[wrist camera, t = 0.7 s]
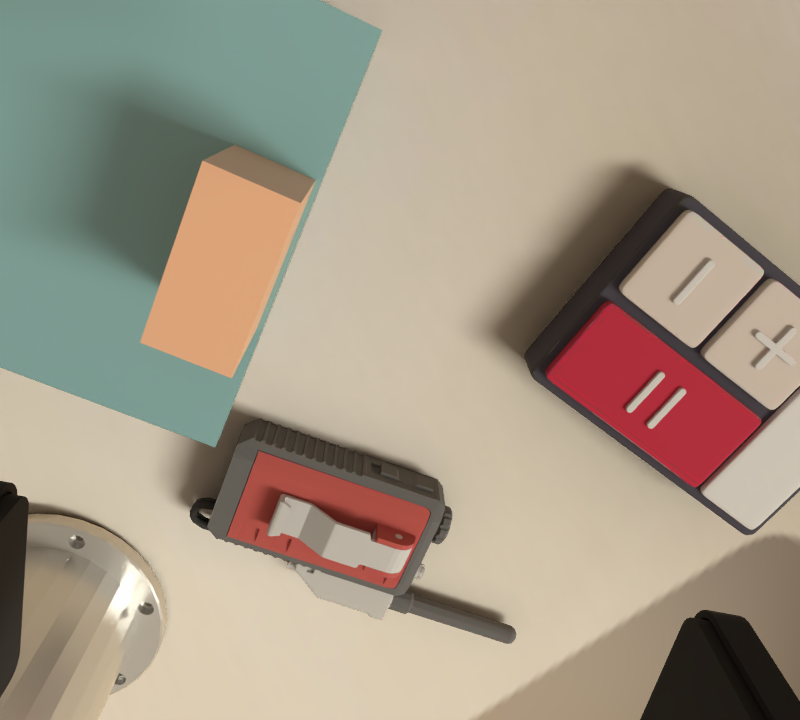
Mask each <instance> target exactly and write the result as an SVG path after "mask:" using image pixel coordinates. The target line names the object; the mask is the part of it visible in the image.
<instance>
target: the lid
mask: <svg viewBox="0 0 800 720" xmlns="http://www.w3.org/2000/svg"><path fill="white" fill-rule="evenodd" d="M381 33H382V30H380V29H378V28H376V27H374V26H372V25H370V24H368V23H366V22H364V21H362V20H360V19H358V18H356V17H353V16H351V15H349V14H347V13H345V12H343V11H341V10H339V9H337V8H335V7H333V6H331V5H328V4H326V3H324V2H322V1H320V0H0V367H1V368H3V369H6V370H9V371H11V372H14V373H17V374H19V375H22V376H25V377H27V378H30V379H33V380H35V381H38V382H41V383H44V384H46V385H49V386H52V387H54V388H57V389H60V390H62V391H65V392H68V393H70V394H73V395H76V396H78V397H81V398H84V399H86V400H89V401H92V402H94V403H97V404H100V405H102V406H105V407H108V408H110V409H113V410H116V411H118V412H121V413H124V414H127V415H129V416H132V417H135V418H137V419H140V420H143V421H145V422H148V423H151V424H153V425H156V426H159V427H161V428H164V429H167V430H169V431H172V432H175V433H177V434H180V435H183V436H185V437H188V438H191V439H193V440H196V441H199V442H201V443H204V444H207V445H210V446H212V447H216V445H217V442H218V440H219V438H220V436H221V433H222V431H223V428H224V426H225V423H226V421H227V418H228V416H229V413H230V411H231V408H232V406H233V403H234V401H235V398H236V396H237V393H238V391H239V388H240V386H241V383H242V381H243V378H244V376H245V373H246V371H247V368H248V366H249V363H250V361H251V358H252V356H253V353H254V351H255V348H256V346H257V343H258V341H259V338H260V336H261V333H262V331H263V328H264V326H265V323H266V321H267V318H268V316H269V313H270V311H271V308H272V306H273V303H274V301H275V298H276V296H277V293H278V291H279V288H280V286H281V283H282V281H283V278H284V276H285V273H286V271H287V268H288V266H289V263H290V261H291V258H292V256H293V253H294V251H295V248H296V246H297V243H298V241H299V238H300V236H301V233H302V231H303V228H304V226H305V223H306V221H307V218H308V216H309V213H310V211H311V208H312V206H313V203H314V201H315V198H316V196H317V193H318V191H319V188H320V186H321V183H322V181H323V178H324V176H325V173H326V171H327V168H328V166H329V163H330V161H331V158H332V156H333V153H334V151H335V148H336V146H337V143H338V141H339V138H340V136H341V133H342V131H343V128H344V126H345V123H346V121H347V118H348V116H349V113H350V111H351V108H352V106H353V103H354V101H355V98H356V96H357V93H358V91H359V88H360V86H361V83H362V81H363V78H364V76H365V73H366V71H367V68H368V66H369V63H370V61H371V58H372V56H373V53H374V51H375V48H376V46H377V43H378V41H379V38H380V36H381Z"/></svg>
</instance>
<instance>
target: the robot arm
mask: <svg viewBox="0 0 800 720" xmlns="http://www.w3.org/2000/svg"><path fill="white" fill-rule="evenodd" d="M28 510H29V503H28V499H27V498H26V497H24V496H18V495H17V489H16V486H15V485H14V484H13V483H9V482H3V481H0V720H98V719H99V717H100V714H101V712H102V710H103V708H104V705H105V703H106V701H107V699H108V696H109V695H111V694H114V693H116V692H118V691H120V690H122V689H124V688H126V687H127V686H129V685H130V684H132V683H133V682H134V681H136V680H137V679H139V677H140V676H141V675H142V674H143V673H144V672H145V671H146V670H147V669H148V668H149V667H150V665H151V663H152V662H153V660H154V658H155V656H156V654H157V653H158V650H159V648H160V645H161V642H162V640H163V637H164V634H165V628H166V621H167V613H166V602H165V598H164V595H163V592H162V589H161V586H160V583H159V582H158V580H157V578H156V576H155V575H154V573H153V571H152V569H151V568H150V567H149V565H148V564H147V563H146V562H145V561H144V560H143V558H142V557H141V556H140V555H139V554H138V553H137V552H136V551H135V550H134V549H133V548H131V547H130V546H129V545H128V544H127V543H125V542H124V541H123V540H122V539H120V538H119V537H117V536H115V535H113V534H112V533H110V532H108V531H107V530H105V529H103V528H101V527H98V526H96V525H93V524H91V523H88V522H86V521H83V520H80V519H75V518H71V517H66V516H62V515H53V514H28ZM640 720H800V701H799V700H798V698H797V697H796V695H795V694H794V692H793V691H792V689H791V687H790V686H789V684H788V683H787V681H786V680H785V678H784V677H783V675H782V673H781V672H780V670H779V669H778V667H777V665H776V664H775V663H774V661H773V659H772V658H771V656H770V655H769V653H768V651H767V650H766V648H765V647H764V645H763V644H762V642H761V641H760V639H759V638H758V636H757V635H756V633H755V631H754V630H753V628H752V627H751V625H750V623H749V622H748V621H747V620H746V619H745V618H743V617H741V616H737V615H731V614H726V613H720V612H715V611H709V610H702V611H700V612H699V613H697V614H696V616H695V618H688V619H686V620H685V621H684V623H683V625H682V626H681V629H680V631H679V633H678V636H677V638H676V640H675V642H674V645H673V647H672V649H671V651H670V654H669V656H668V658H667V660H666V663H665V665H664V667H663V669H662V672H661V674H660V676H659V679H658V681H657V683H656V685H655V688H654V690H653V692H652V694H651V697H650V699H649V701H648V704H647V706H646V708H645V710H644V713H643V715H642V717H641V719H640Z"/></svg>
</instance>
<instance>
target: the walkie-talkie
mask: <svg viewBox="0 0 800 720" xmlns="http://www.w3.org/2000/svg"><path fill="white" fill-rule="evenodd" d="M201 508H204V509H210V510H213V511H212V515H211V517H210V519H209V518H206V517H204V516H203V515H202V514H201V513H199V509H201ZM190 518H191V520H192V521H193V523H195V524H196V525H198V526H199V527H201V528H203V529H206V530H209V531H210V532H211V533H212V534H213V535H214V536H215V538H216V539H218V538H219V539H222V540H224V541H225V542H231V543H234V545H241V546H244V548H250V549H253V550H254V551H256V552H257V551H259V552H263V554H266V555H267V554H269V555H272V556H273V557H275V558H276V557H278V558H281V559H283V560H284V561H287V562H288V566H287V568H290V569H293V570H296V572H297V573H298V574H299V575H300V577H301V578H302V579H303V580H304V582H305V583H306V584H307V585H308V587H309V588H310V589H311V590H312V592H313V593H314V594H315V596H316V597H318V598H320V599H323V600H326V601H329V602H332V603H336V604H339V605H342V606H345V607H348V608H351V609H354V610H358V611H361V612H364V613H367V614H368V615H369V616H370V617H372V618H375V619H379V620H382V619H383V617H384V615H385V613H386V611H387V609H391V610H394V611H397V612H400V613H404V614H406V613H408V612H409V613H412V614H415V615H418V616H421V617H425V618H428V619H431V620H434V621H437V622H440V623H443V624H447V625H450V626H453V627H456V628H459V629H462V630H466V631H469V632H472V633H475V634H478V635H481V636H484V637H488V638H491V639H494V640H497V641H500V642H503V643H506V644H509V643H512V642H513V641H514V640H515V638H516V632H515V629H514V628H513V627H512V626H510V625H507V624H504V623H501V622H497V621H494V620H491V619H488V618H485V617H482V616H479V615H475V614H472V613H469V612H466V611H463V610H460V609H457V608H454V607H450V606H447V605H444V604H441V603H438V602H435V601H432V600H428V599H425V598H422V597H419V596H416V595H414V594H413V592H412V591H410V590H408V588H409V587H410V585H411V583H412V580H413V578H417V579H421V578H422V576H423V573H424V567H423V566H424V565H423V564H421V562H422V560H423V558H424V556H425V554H426V552H427V549H428V547H429V545H430V543H431V541H432V543H436V544H440V543H442V541H443V540H444V539H445V538H446V536H447V534H448V531H449V529H450V525H451V521H452V511H451V508H450V507H448V506H445V502H444V494H443V487H442V485H441V484H440V482H439V481H438V480H437V479H434V478H431V477H428V476H425V475H423V474H420V473H417V472H414V471H411V470H408V469H405V468H402V467H399V466H397V465H394V464H391V463H388V462H385V461H382V460H379V459H376V458H373V457H371V456H368V455H365V454H364V455H360V454H358V452H356V451H354V452H351V451H348V449H347V448H345V449H342V448H339V445H335V446H334V445H331V444H329V442H327V441H326V442H322V441H320V439H318V438H316V439H313V438H311V437H310V435H307V436H305V435H302V434H301V432H297V433H296V432H293V431H291V429H290V428H288V429H285V428H282V427H281V425H278V426H276V425H273V424H272V422H268V423H267V422H264V421H262V419H258V420H255V421H253V422H250V423H247V424H245V426H244V428H243V431H242V433H241V436H240V438H239V441H238V443H237V446H236V448H235V451H234V454H233V457H232V459H231V462H230V465H229V468H228V470H227V473H226V476H225V479H224V481H223V484H222V487H221V490H220V492H219V495H218V498H217V500H216V499H212V498H200V499H198V500H197V501H196V502H195V503H194V505H193V506H192V509H191V510H190Z"/></svg>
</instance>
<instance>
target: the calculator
mask: <svg viewBox="0 0 800 720" xmlns="http://www.w3.org/2000/svg"><path fill="white" fill-rule="evenodd" d="M525 360H526V363H527V365H528V368H529V370H530V372H531V375H532V377H533V378H534V379H535V380H536V381H537V382H539V383H540V384H541V385H543V386H544V387H545V388H547V389H548V390H549V391H551V392H552V393H553V394H555V395H556V396H557V397H559V398H560V399H561V400H563V401H564V402H566V403H567V404H568V405H570V406H571V407H572V408H574V409H575V410H576V411H578V412H579V413H580V414H582V415H583V416H584V417H586V418H587V419H588V420H590V421H591V422H593V423H594V424H595V425H597V426H598V427H599V428H601V429H602V430H603V431H605V432H606V433H607V434H609V435H610V436H611V437H613V438H614V439H615V440H617V441H618V442H620V443H621V444H622V445H624V446H625V447H626V448H628V449H629V450H630V451H632V452H633V453H634V454H636V455H637V456H638V457H640V458H641V459H642V460H644V461H645V462H647V463H648V464H649V465H651V466H652V467H653V468H655V469H656V470H657V471H659V472H660V473H661V474H663V475H664V476H665V477H667V478H668V479H669V480H671V481H672V482H674V483H675V484H676V485H678V486H679V487H680V488H682V489H683V490H684V491H686V492H687V493H688V494H690V495H691V496H692V497H694V498H695V499H696V500H698V501H699V502H701V503H702V504H703V505H705V506H706V507H707V508H709V509H710V510H711V511H713V512H714V513H715V514H717V515H718V516H719V517H721V518H722V519H723V520H725V521H726V522H728V523H729V524H730V525H732V526H733V527H734V528H736V529H737V530H738V531H740V532H741V533H743V534H745V535H752V534H754V533H755V532H756V531H758V530H759V529H760V528H761V527H762V526H763V525H764V524H765V523H766V522H767V521H768V520H769V519H770V518H771V517H772V516H774V515H775V514H776V513H777V512H778V511H779V510H780V509H781V508H782V507H783V506H784V505H785V504H786V503H787V502H788V501H789V500H790V499H791V498H792V497H794V496H795V495H796V494H797V493H798V492H799V491H800V286H799V285H798V284H797V283H796V282H794V281H793V280H792V279H791V278H790V277H788V276H787V275H786V274H785V273H784V272H782V271H781V270H780V269H779V268H778V267H776V266H775V265H774V264H773V263H772V262H770V261H769V260H768V259H767V258H766V257H764V256H763V255H762V254H761V253H760V252H758V251H757V250H756V249H755V248H754V247H752V246H751V245H750V244H749V243H748V242H747V241H745V240H744V239H743V238H742V237H741V236H739V235H738V234H737V233H736V232H735V231H733V230H732V229H731V228H730V227H729V226H727V225H726V224H725V223H724V222H723V221H721V220H720V219H719V218H718V217H717V216H715V215H714V214H713V213H712V212H711V211H709V210H708V209H707V208H706V207H705V206H703V205H702V204H701V203H700V202H699V201H697V200H696V199H695V198H694V197H692V196H690V195H688V194H685V193H682V192H679V191H676V190H673V189H667V190H665V191H664V192H662V193H661V194H660V196H659V197H658V198H657V199H656V200H655V201H654V203H653V204H652V205H651V206H650V207H649V208H648V210H647V211H646V212H645V213H644V214H643V215H642V217H641V218H640V219H639V220H638V221H637V222H636V224H635V225H634V226H633V227H632V228H631V229H630V231H629V232H628V233H627V234H626V235H625V236H624V238H623V239H622V240H621V241H620V242H619V243H618V245H617V246H616V247H615V248H614V249H613V250H612V252H611V253H610V254H609V255H608V256H607V257H606V259H605V260H604V261H603V262H602V263H601V264H600V266H599V267H598V268H597V269H596V270H595V271H594V273H593V274H592V275H591V276H590V277H589V279H588V280H587V281H586V282H585V283H584V284H583V286H582V287H581V288H580V289H579V290H578V291H577V293H576V294H575V295H574V296H573V297H572V298H571V300H570V301H569V302H568V303H567V304H566V305H565V307H564V308H563V309H562V310H561V311H560V312H559V314H558V315H557V316H556V317H555V318H554V319H553V321H552V322H551V323H550V324H549V325H548V326H547V328H546V329H545V330H544V331H543V332H542V333H541V335H540V336H539V337H538V338H537V339H536V340H535V342H534V343H533V344H532V345H531V346H530V348H529V349H528V350H527V351H526V353H525Z"/></svg>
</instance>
